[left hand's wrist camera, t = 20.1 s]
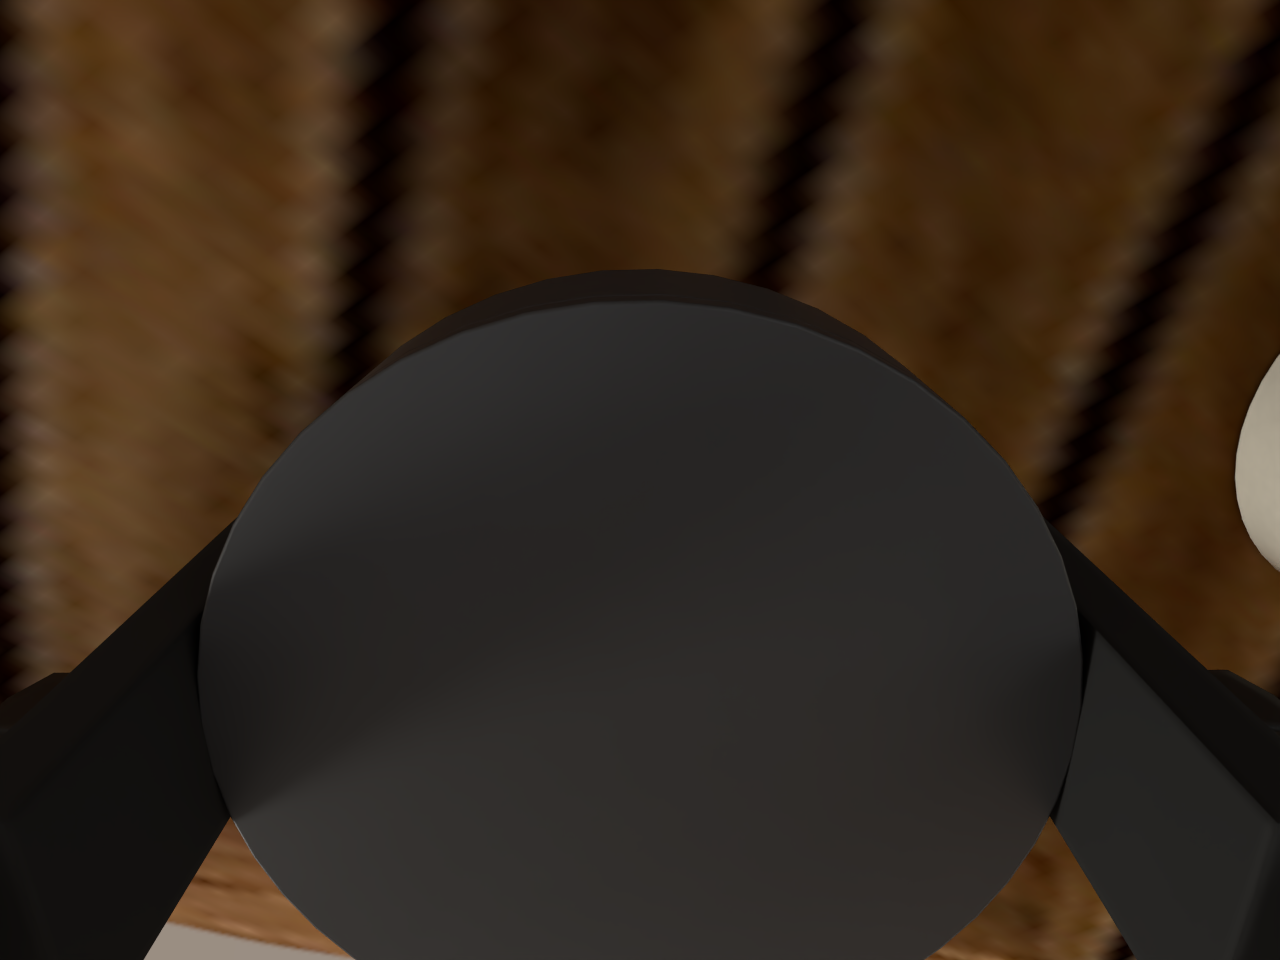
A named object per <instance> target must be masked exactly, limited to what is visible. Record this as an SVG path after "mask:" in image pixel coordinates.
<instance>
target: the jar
mask: <svg viewBox="0 0 1280 960" xmlns="http://www.w3.org/2000/svg"><path fill="white" fill-rule="evenodd" d="M1235 483H1236V494H1237V501H1238V504H1239V508H1240V512H1241V516H1242V520H1243V522H1244V524H1245V526H1246V529H1247V531H1248V533H1249V535H1250V538H1251V539H1252V541H1253V542H1254V544H1255V545H1256V547H1257V548H1258V550H1259V551H1260V553H1261V554H1262V555H1263V556H1264V557H1265V558H1266V559H1267V560H1268V561H1269V563H1270V564H1271V565H1272V566H1273V567H1274V568H1275V569H1276V570H1278V571H1279V572H1280V354H1279V355H1278V357H1277V358H1276V359H1275V361H1274V362H1273V364H1272V366H1271V367H1270V369H1269V370H1268V372H1267V374H1266V375H1265V377H1264V378H1263V380H1262V381H1261V383H1260V385H1259V388H1258V390H1257V392H1256V394H1255V396H1254V398H1253V400H1252V402H1251V404H1250V406H1249V409H1248V412H1247V415H1246V418H1245V421H1244V424H1243V426H1242V429H1241V434H1240V439H1239V444H1238V448H1237V453H1236V468H1235Z"/></svg>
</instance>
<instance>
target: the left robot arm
mask: <svg viewBox="0 0 1280 960" xmlns="http://www.w3.org/2000/svg"><path fill="white" fill-rule="evenodd" d="M1042 517H1043V516H1042ZM236 519H237V518H236ZM236 519H235V520H236ZM1043 519H1044V521H1045V523H1046V525H1047V527H1048V529H1049V531H1050V533H1051V536H1052V538H1053V540H1054V542H1055V544H1056V546H1057V548H1058V550H1059V552H1060V554H1061V556H1062V559H1063V563H1064V566H1065V569H1066V573H1067V576H1068V579H1069V583H1070V586H1071V589H1072V593H1073V596H1074V599H1075V603H1076V606H1077V613H1078V621H1079V629H1080V636H1081V644H1082V652H1083V686H1082V710H1081V714H1080V719H1079V724H1078V729H1077V734H1076V739H1075V743H1074V748H1073V753H1072V758H1071V762H1070V766H1069V768H1068V771H1067V774H1066V777H1065V780H1064V783H1063V786H1062V789H1061V792H1060V794H1059V797H1058V800H1057V802H1056V804H1055V806H1054V808H1053V810H1052V812H1051V814H1050V817H1051V819H1052V820H1053V822H1054V824H1055V825H1056V827H1057V829H1058V830H1059V832H1060V834H1061V835H1062V837H1063V839H1064V840H1065V842H1066V844H1067V845H1068V847H1069V848H1070V850H1071V852H1072V853H1073V855H1074V857H1075V858H1076V860H1077V862H1078V863H1079V865H1080V867H1081V868H1082V870H1083V871H1084V873H1085V875H1086V876H1087V878H1088V880H1089V881H1090V883H1091V885H1092V886H1093V888H1094V890H1095V891H1096V893H1097V895H1098V896H1099V898H1100V899H1101V901H1102V903H1103V904H1104V906H1105V908H1106V909H1107V911H1108V913H1109V914H1110V916H1111V918H1112V919H1113V921H1114V923H1115V924H1116V926H1117V927H1118V929H1119V931H1120V932H1121V934H1122V936H1123V937H1124V939H1125V941H1126V942H1127V944H1128V946H1129V947H1130V949H1131V951H1132V952H1133V954H1134V955H1135V957H1136V959H1137V960H1280V700H1279V699H1278V698H1277V697H1276V696H1274V695H1273V694H1271V693H1269V692H1267V691H1265V690H1263V689H1262V688H1260V687H1258V686H1256V685H1254V684H1252V683H1251V682H1249V681H1247V680H1245V679H1243V678H1242V677H1240V676H1238V675H1236V674H1234V673H1232V672H1231V671H1229V670H1207V669H1206V668H1205V667H1204V666H1203V665H1202V664H1201V663H1199V662H1198V661H1197V660H1196V659H1195V658H1194V657H1193V656H1192V655H1191V654H1190V653H1189V652H1188V651H1187V650H1185V649H1184V648H1183V647H1182V646H1181V645H1180V644H1179V643H1178V642H1177V641H1176V640H1175V639H1174V638H1173V637H1172V636H1170V635H1169V634H1168V633H1167V632H1166V631H1165V630H1164V629H1163V628H1162V627H1161V626H1160V625H1159V624H1158V623H1156V622H1155V621H1154V620H1153V619H1152V618H1151V617H1150V616H1149V615H1148V614H1147V613H1146V612H1145V611H1144V610H1143V609H1141V608H1140V607H1139V606H1138V605H1137V604H1136V603H1135V602H1134V601H1133V600H1132V599H1131V598H1130V597H1129V596H1127V595H1126V594H1125V593H1124V592H1123V591H1122V590H1121V589H1120V588H1119V587H1118V586H1117V585H1116V584H1115V583H1113V582H1112V581H1111V580H1110V579H1109V578H1108V577H1107V576H1106V575H1105V574H1104V573H1103V572H1102V571H1101V570H1100V569H1098V568H1097V567H1096V566H1095V565H1094V564H1093V563H1092V562H1091V561H1090V560H1089V559H1088V558H1087V557H1086V556H1084V555H1083V554H1082V553H1081V552H1080V551H1079V550H1078V549H1077V548H1076V547H1075V546H1074V545H1073V544H1072V543H1070V542H1069V541H1068V540H1067V539H1066V538H1065V537H1064V536H1063V535H1062V534H1061V533H1060V532H1059V531H1058V530H1057V529H1055V528H1054V527H1053V526H1052V525H1051V524H1050V523H1049V522H1048V521H1047V520H1046V519H1045V518H1044V517H1043ZM235 520H234V521H233V522H232V523H231V524H229V525H228V526H227V527H226V528H225V529H224V530H223V531H222V532H221V533H220V534H219V535H218V536H217V537H215V538H214V539H213V540H212V541H211V542H210V543H209V544H208V545H207V546H206V547H205V548H204V549H203V550H202V551H200V552H199V553H198V554H197V555H196V556H195V557H194V558H193V559H192V560H191V561H190V562H189V563H188V564H186V565H185V566H184V567H183V568H182V569H181V570H180V571H179V572H178V573H177V574H176V575H175V576H174V577H173V578H171V579H170V580H169V581H168V582H167V583H166V584H165V585H164V586H163V587H162V588H161V589H160V590H159V591H157V592H156V593H155V594H154V595H153V596H152V597H151V598H150V599H149V600H148V601H147V602H146V603H145V604H144V605H142V606H141V607H140V608H139V609H138V610H137V611H136V612H135V613H134V614H133V615H132V616H131V617H130V618H128V619H127V620H126V621H125V622H124V623H123V624H122V625H121V626H120V627H119V628H118V629H117V630H116V631H114V632H113V633H112V634H111V635H110V636H109V637H108V638H107V639H106V640H105V641H104V642H103V643H102V644H101V645H99V646H98V647H97V648H96V649H95V650H94V651H93V652H92V653H91V654H90V655H89V656H88V657H87V658H85V659H84V660H83V661H82V662H81V663H80V664H79V665H78V666H77V667H76V668H75V669H74V670H73V671H72V672H70V673H53V674H51V675H49V676H47V677H45V678H44V679H42V680H40V681H38V682H36V683H34V684H33V685H31V686H29V687H27V688H25V689H24V690H22V691H20V692H18V693H16V694H15V695H13V696H11V697H9V698H7V699H6V700H5V701H4V702H3V703H2V704H0V960H144V958H145V956H146V955H147V953H148V951H149V950H150V948H151V946H152V945H153V943H154V942H155V940H156V938H157V937H158V935H159V933H160V932H161V930H162V928H163V927H164V925H165V923H166V922H167V920H168V919H169V917H170V915H171V914H172V912H173V910H174V909H175V907H176V905H177V904H178V902H179V900H180V899H181V897H182V896H183V894H184V892H185V891H186V889H187V887H188V886H189V884H190V882H191V881H192V879H193V877H194V876H195V874H196V872H197V871H198V869H199V868H200V866H201V864H202V863H203V861H204V859H205V858H206V856H207V854H208V853H209V851H210V849H211V848H212V846H213V844H214V843H215V841H216V840H217V838H218V836H219V835H220V833H221V831H222V830H223V828H224V826H225V825H226V823H227V821H228V820H229V818H230V814H229V812H228V809H227V807H226V804H225V802H224V799H223V797H222V794H221V792H220V789H219V787H218V784H217V782H216V779H215V777H214V775H213V771H212V766H211V762H210V757H209V753H208V748H207V744H206V739H205V735H204V730H203V726H202V720H201V715H200V708H199V696H198V685H197V666H198V652H199V638H200V625H201V620H202V616H203V612H204V607H205V603H206V599H207V595H208V591H209V586H210V582H211V578H212V574H213V571H214V569H215V567H216V564H217V562H218V559H219V557H220V555H221V552H222V550H223V547H224V545H225V543H226V540H227V538H228V535H229V533H230V531H231V528H232V526H233V524H234V522H235Z"/></svg>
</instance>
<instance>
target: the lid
mask: <svg viewBox="0 0 1280 960" xmlns="http://www.w3.org/2000/svg"><path fill="white" fill-rule="evenodd" d="M197 685H198V696H199V708H200V715H201V720H202V726H203V730H204V735H205V739H206V744H207V748H208V753H209V757H210V762H211V766H212V771H213V775H214V777H215V779H216V782H217V784H218V787H219V789H220V792H221V794H222V797H223V799H224V802H225V804H226V807H227V809H228V812H229V814H230V816H231V818H232V820H233V821H234V823H235V825H236V827H237V828H238V830H239V832H240V834H241V835H242V837H243V839H244V841H245V842H246V844H247V846H248V847H249V849H250V851H251V853H252V854H253V856H254V858H255V859H256V860H257V862H258V863H259V864H260V865H261V867H262V868H263V869H264V871H265V872H266V873H267V875H268V876H269V877H270V878H271V880H272V881H273V882H274V884H275V885H276V886H277V888H278V889H279V890H280V891H281V893H282V894H283V895H284V896H285V897H286V898H287V899H288V900H289V901H290V902H291V903H292V904H293V905H294V906H295V907H296V908H297V909H298V910H299V911H300V912H301V913H302V914H303V915H304V916H305V917H306V919H307V920H308V921H309V922H310V923H311V924H312V925H313V926H314V927H315V928H316V929H318V930H319V931H320V932H321V933H323V934H324V935H325V936H326V937H328V938H329V939H330V940H331V941H333V942H334V943H335V944H336V945H338V946H339V947H340V948H341V949H343V950H344V951H345V952H346V953H348V954H349V955H350V956H351V957H353V958H354V959H356V960H924V959H926V958H927V957H929V956H930V955H932V954H933V953H935V952H936V951H937V950H939V949H940V948H942V947H943V946H944V945H945V944H946V943H947V942H948V941H950V940H951V939H952V938H953V937H954V936H955V935H957V934H958V933H959V932H960V931H961V930H962V929H963V928H965V927H966V926H967V925H968V924H969V923H970V922H971V921H973V920H974V919H975V918H976V917H977V916H978V915H979V914H980V913H981V912H982V910H983V909H984V908H985V907H986V906H987V905H988V904H989V903H990V902H991V901H992V899H993V898H994V897H995V896H996V895H997V894H998V893H999V892H1000V891H1001V890H1002V888H1003V887H1004V886H1005V885H1006V884H1007V883H1008V882H1009V880H1010V879H1011V877H1012V876H1013V875H1014V873H1015V872H1016V870H1017V869H1018V867H1019V866H1020V865H1021V863H1022V862H1023V860H1024V859H1025V857H1026V856H1027V855H1028V853H1029V852H1030V850H1031V849H1032V847H1033V846H1034V845H1035V843H1036V841H1037V839H1038V837H1039V835H1040V833H1041V831H1042V830H1043V828H1044V826H1045V824H1046V822H1047V820H1048V818H1049V816H1050V814H1051V812H1052V810H1053V808H1054V806H1055V804H1056V802H1057V800H1058V797H1059V794H1060V792H1061V789H1062V786H1063V783H1064V780H1065V777H1066V774H1067V771H1068V768H1069V766H1070V762H1071V758H1072V753H1073V748H1074V743H1075V739H1076V734H1077V729H1078V724H1079V719H1080V714H1081V710H1082V686H1083V652H1082V644H1081V636H1080V629H1079V621H1078V613H1077V606H1076V603H1075V599H1074V596H1073V593H1072V589H1071V586H1070V583H1069V579H1068V576H1067V573H1066V569H1065V566H1064V563H1063V559H1062V556H1061V554H1060V552H1059V550H1058V548H1057V546H1056V544H1055V542H1054V540H1053V538H1052V536H1051V533H1050V531H1049V529H1048V527H1047V525H1046V523H1045V521H1044V519H1043V517H1042V515H1041V513H1040V511H1039V509H1038V507H1037V505H1036V504H1035V503H1034V501H1033V500H1032V498H1031V497H1030V495H1029V494H1028V492H1027V491H1026V490H1025V488H1024V487H1023V485H1022V484H1021V482H1020V481H1019V480H1018V478H1017V477H1016V475H1015V474H1014V472H1013V471H1012V470H1011V468H1010V467H1009V465H1008V464H1007V462H1006V461H1005V460H1004V459H1003V458H1002V457H1001V456H1000V455H999V454H998V452H997V451H996V450H995V449H994V448H993V447H992V446H991V445H990V444H989V443H988V442H987V441H986V440H985V439H984V438H983V437H982V436H981V435H980V434H979V433H978V432H977V430H976V429H975V428H974V427H973V426H972V425H971V424H970V423H969V422H968V421H967V420H966V419H965V418H964V417H963V416H962V415H961V414H959V413H958V412H957V411H956V410H955V409H953V408H952V407H951V406H950V405H949V404H948V403H946V402H945V401H944V400H943V399H942V398H941V397H939V396H938V395H937V394H936V393H935V392H934V391H932V390H931V389H930V388H929V387H928V386H927V385H925V384H924V383H923V382H922V381H921V380H920V379H918V378H917V377H916V376H915V375H914V374H912V373H911V372H910V371H909V370H908V369H907V368H905V367H904V366H903V365H902V364H900V363H899V362H898V361H897V360H895V359H894V358H893V357H891V356H890V355H889V354H888V353H886V352H885V351H884V350H882V349H881V348H880V347H879V346H877V345H876V344H875V343H873V342H872V341H871V340H870V339H868V338H867V337H866V336H864V335H863V334H861V333H859V332H858V331H856V330H854V329H852V328H851V327H849V326H847V325H845V324H844V323H842V322H840V321H838V320H837V319H835V318H833V317H831V316H830V315H828V314H826V313H824V312H823V311H821V310H819V309H817V308H814V307H812V306H809V305H807V304H804V303H802V302H799V301H797V300H794V299H792V298H789V297H787V296H784V295H782V294H779V293H777V292H774V291H772V290H769V289H767V288H763V287H759V286H755V285H751V284H747V283H743V282H739V281H734V280H730V279H726V278H722V277H718V276H714V275H706V274H697V273H688V272H679V271H670V270H661V269H647V270H604V271H596V272H590V273H584V274H577V275H571V276H565V277H558V278H552V279H546V280H543V281H540V282H536V283H533V284H530V285H527V286H523V287H520V288H517V289H513V290H510V291H507V292H503V293H500V294H497V295H494V296H492V297H489V298H487V299H485V300H483V301H481V302H478V303H476V304H474V305H472V306H470V307H467V308H465V309H463V310H461V311H459V312H457V313H454V314H452V315H450V316H448V317H446V318H444V319H442V320H441V321H439V322H438V323H436V324H435V325H433V326H432V327H430V328H428V329H427V330H425V331H424V332H422V333H421V334H419V335H417V336H416V337H414V338H413V339H411V340H410V341H408V342H407V343H405V344H403V345H402V346H401V347H399V348H398V349H397V350H396V351H395V352H394V353H392V354H391V355H390V356H389V357H388V358H386V359H385V360H384V361H383V362H382V363H381V364H379V365H378V366H377V367H376V368H375V369H374V370H372V371H371V372H370V373H369V374H368V375H367V376H365V377H364V378H363V379H362V380H361V381H360V382H358V383H357V384H356V385H355V386H354V387H352V388H351V389H350V390H349V391H348V392H347V393H345V394H344V395H343V396H342V397H341V398H340V399H339V400H337V401H336V402H335V403H334V404H333V405H332V406H330V407H329V408H328V409H327V410H326V411H325V412H323V413H322V414H321V415H320V416H319V417H318V418H316V419H315V420H314V421H313V422H312V423H311V424H310V425H308V426H307V427H306V428H305V429H304V430H303V431H301V432H300V433H299V435H298V436H297V437H296V438H295V439H294V440H293V442H292V443H291V444H290V445H289V446H288V447H287V449H286V450H285V451H284V452H283V453H282V454H281V456H280V457H279V458H278V459H277V460H276V461H275V463H274V464H273V465H272V466H271V467H270V468H269V470H268V471H267V472H266V473H265V474H264V476H263V477H262V478H261V480H260V482H259V483H258V485H257V486H256V488H255V490H254V491H253V493H252V494H251V496H250V498H249V499H248V501H247V503H246V504H245V506H244V507H243V509H242V511H241V512H240V514H239V516H238V517H237V519H236V520H235V522H234V524H233V526H232V528H231V531H230V533H229V535H228V538H227V540H226V543H225V545H224V547H223V550H222V552H221V555H220V557H219V559H218V562H217V564H216V567H215V569H214V571H213V574H212V578H211V582H210V586H209V591H208V595H207V599H206V603H205V607H204V612H203V616H202V620H201V625H200V638H199V652H198V666H197Z"/></svg>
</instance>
